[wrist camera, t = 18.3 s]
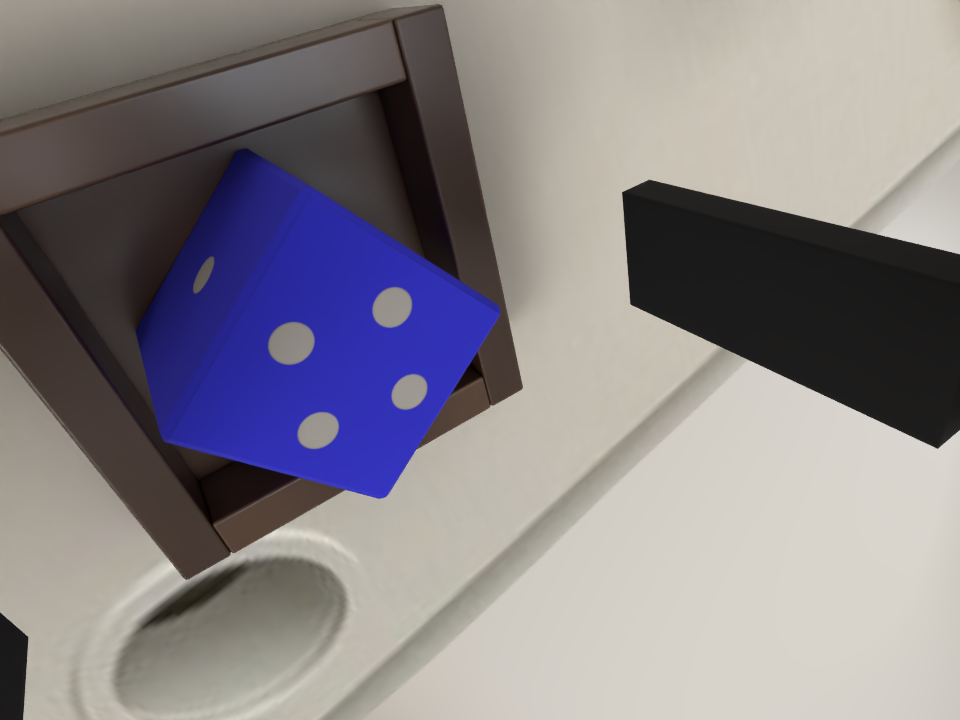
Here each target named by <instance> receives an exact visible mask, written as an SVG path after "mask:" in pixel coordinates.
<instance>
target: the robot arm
mask: <svg viewBox="0 0 960 720" xmlns="http://www.w3.org/2000/svg"><path fill="white" fill-rule="evenodd" d="M622 195H623V209H624V223H625V236H626V250H627V264H628V277H629V291H630V304H631V305H633V306H635V307H637V308H639V309H641V310H643V311H645V312H648V313H650V314H652V315H654V316H656V317H658V318H660V319H663V320H665V321H667V322H669V323H671V324H673V325H675V326H677V327H680V328H682V329H684V330H686V331H688V332H690V333H692V334H694V335H697V336H699V337H701V338H703V339H705V340H707V341H709V342H712V343H714V344H716V345H718V346H720V347H722V348H724V349H726V350H729V351H731V352H733V353H735V354H737V355H739V356H741V357H743V358H746V359H748V360H750V361H752V362H754V363H756V364H758V365H761V366H763V367H765V368H767V369H769V370H771V371H773V372H775V373H778V374H780V375H782V376H784V377H786V378H788V379H790V380H793V381H795V382H797V383H799V384H801V385H803V386H806V387H807V388H810V389H812V390H814V391H816V392H818V393H820V394H823V395H824V396H827V397H829V398H831V399H833V400H835V401H837V402H839V403H842V404H844V405H846V406H848V407H850V408H852V409H854V410H856V411H859V412H861V413H863V414H865V415H867V416H869V417H871V418H874V419H876V420H878V421H880V422H882V423H884V424H886V425H888V426H890V427H893V428H895V429H897V430H899V431H901V432H903V433H906V434H908V435H910V436H912V437H914V438H916V439H918V440H920V441H922V442H925V443H927V444H929V445H931V446H933V447H935V448H937V449H938V448H939V447H940V446H941V445H943V444H944V443H945V442H946V441H947V440H948V439H950V438H951V437H952V436H953V435H954V434H956V433H957V432H958V431H959V430H960V254H956V253H952V252H948V251H944V250H940V249H935V248H931V247H927V246H922V245H919V244H915V243H910V242H906V241H902V240H898V239H893V238H890V237H885V236H881V235H877V234H873V233H869V232H865V231H860V230H856V229H852V228H848V227H844V226H840V225H835V224H831V223H827V222H823V221H819V220H815V219H810V218H806V217H802V216H798V215H794V214H790V213H785V212H781V211H777V210H773V209H769V208H765V207H760V206H756V205H752V204H748V203H744V202H740V201H735V200H731V199H727V198H723V197H719V196H715V195H710V194H706V193H702V192H698V191H694V190H690V189H685V188H681V187H677V186H673V185H669V184H665V183H661V182H656V181H652V180H648V181H646V182H643V183H641V184H639V185H637V186H635V187H633V188H631V189H628V190H626V191H624V192H622ZM27 650H28V636H26V635H25V634H24V633H23V632H22V631H21V630H20V629H18V628H17V627H16V626H15V625H14V624H13V623H12V622H10V621H9V620H8V619H7V618H6V617H5V616H3V615H2V614H1V613H0V720H23V712H24V696H25V681H26V665H27Z"/></svg>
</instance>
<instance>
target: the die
mask: <svg viewBox="0 0 960 720" xmlns="http://www.w3.org/2000/svg"><path fill="white" fill-rule="evenodd" d="M499 316H500V306H499V305H497V304H496V303H494V302H492V301H491V300H489V299H488V298H486V297H485V296H483V295H481V294H480V293H478V292H477V291H475V290H473V289H472V288H470V287H469V286H467V285H466V284H464V283H462V282H461V281H459V280H458V279H456V278H455V277H453V276H451V275H450V274H448V273H447V272H445V271H444V270H442V269H440V268H439V267H437V266H436V265H434V264H432V263H431V262H429V261H428V260H426V259H425V258H423V257H421V256H420V255H418V254H417V253H415V252H414V251H412V250H410V249H409V248H407V247H406V246H404V245H403V244H401V243H399V242H398V241H396V240H395V239H393V238H391V237H390V236H388V235H387V234H385V233H384V232H382V231H380V230H379V229H377V228H376V227H374V226H373V225H371V224H369V223H368V222H366V221H365V220H363V219H362V218H360V217H358V216H357V215H355V214H354V213H352V212H351V211H349V210H347V209H346V208H344V207H343V206H341V205H339V204H338V203H336V202H335V201H333V200H332V199H330V198H328V197H327V196H325V195H324V194H322V193H321V192H319V191H317V190H316V189H314V188H313V187H311V186H309V185H308V184H306V183H304V182H303V181H301V180H299V179H298V178H296V177H294V176H293V175H291V174H289V173H288V172H286V171H284V170H283V169H281V168H279V167H278V166H276V165H274V164H273V163H271V162H269V161H268V160H266V159H264V158H263V157H261V156H259V155H257V154H256V153H254V152H252V151H251V150H249V149H247V148H246V149H241V150H237V152H236V154H235V156H234V157H233V159H232V161H231V163H230V164H229V166H228V168H227V170H226V172H225V173H224V175H223V177H222V179H221V180H220V182H219V184H218V186H217V187H216V189H215V191H214V193H213V195H212V196H211V198H210V200H209V202H208V203H207V205H206V207H205V209H204V210H203V212H202V214H201V216H200V218H199V219H198V221H197V223H196V225H195V226H194V228H193V230H192V232H191V233H190V235H189V237H188V239H187V241H186V242H185V244H184V246H183V248H182V249H181V251H180V253H179V255H178V256H177V258H176V260H175V262H174V264H173V265H172V267H171V269H170V271H169V272H168V274H167V276H166V278H165V279H164V281H163V283H162V285H161V287H160V288H159V290H158V292H157V294H156V295H155V297H154V299H153V301H152V302H151V304H150V306H149V308H148V310H147V311H146V313H145V315H144V317H143V318H142V320H141V322H140V324H139V325H138V327H137V329H136V335H137V339H138V344H139V348H140V352H141V356H142V361H143V365H144V369H145V373H146V377H147V382H148V386H149V390H150V394H151V399H152V403H153V407H154V411H155V415H156V420H157V424H158V428H159V432H160V434H161V436H162V439H163V441H164V442H167V443H171V444H174V445H178V446H182V447H186V448H190V449H193V450H197V451H201V452H205V453H208V454H212V455H216V456H220V457H224V458H227V459H231V460H235V461H239V462H242V463H246V464H250V465H254V466H258V467H261V468H265V469H269V470H273V471H276V472H280V473H284V474H288V475H292V476H295V477H299V478H303V479H307V480H311V481H314V482H318V483H322V484H326V485H329V486H333V487H337V488H341V489H345V490H348V491H352V492H356V493H360V494H363V495H367V496H371V497H375V498H379V499H380V498H384V497H386V496H387V495H388V494H389V492H390V491H391V489H392V488H393V486H394V484H395V483H396V481H397V480H398V478H399V476H400V475H401V473H402V472H403V470H404V468H405V467H406V465H407V463H408V462H409V460H410V459H411V457H412V455H413V454H414V452H415V451H416V449H417V447H418V446H419V444H420V443H421V441H422V439H423V438H424V436H425V435H426V433H427V431H428V430H429V428H430V427H431V425H432V423H433V422H434V420H435V419H436V417H437V415H438V414H439V412H440V411H441V409H442V407H443V406H444V404H445V403H446V401H447V399H448V398H449V396H450V395H451V393H452V391H453V390H454V388H455V387H456V385H457V383H458V382H459V380H460V379H461V377H462V375H463V374H464V372H465V371H466V369H467V367H468V366H469V364H470V363H471V361H472V359H473V358H474V356H475V355H476V353H477V351H478V350H479V348H480V347H481V345H482V343H483V342H484V340H485V339H486V337H487V335H488V334H489V332H490V331H491V329H492V327H493V326H494V324H495V323H496V321H497V319H498V318H499Z"/></svg>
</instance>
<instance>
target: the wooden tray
mask: <svg viewBox="0 0 960 720" xmlns="http://www.w3.org/2000/svg"><path fill="white" fill-rule="evenodd" d="M246 148H247V149H249V150H251V151H252V152H254V153H256V154H257V155H259V156H261V157H263V158H264V159H266V160H268V161H269V162H271V163H273V164H274V165H276V166H278V167H279V168H281V169H283V170H284V171H286V172H288V173H289V174H291V175H293V176H294V177H296V178H298V179H299V180H301V181H303V182H304V183H306V184H308V185H309V186H311V187H313V188H314V189H316V190H317V191H319V192H321V193H322V194H324V195H325V196H327V197H328V198H330V199H332V200H333V201H335V202H336V203H338V204H339V205H341V206H343V207H344V208H346V209H347V210H349V211H351V212H352V213H354V214H355V215H357V216H358V217H360V218H362V219H363V220H365V221H366V222H368V223H369V224H371V225H373V226H374V227H376V228H377V229H379V230H380V231H382V232H384V233H385V234H387V235H388V236H390V237H391V238H393V239H395V240H396V241H398V242H399V243H401V244H403V245H404V246H406V247H407V248H409V249H410V250H412V251H414V252H415V253H417V254H418V255H420V256H421V257H423V258H425V259H426V260H428V261H429V262H431V263H432V264H434V265H436V266H437V267H439V268H440V269H442V270H444V271H445V272H447V273H448V274H450V275H451V276H453V277H455V278H456V279H458V280H459V281H461V282H462V283H464V284H466V285H467V286H469V287H470V288H472V289H473V290H475V291H477V292H478V293H480V294H481V295H483V296H485V297H486V298H488V299H489V300H491V301H492V302H494V303H496V304H497V305H499V306H500V316H499V318H498V319H497V321H496V323H495V324H494V326H493V327H492V329H491V331H490V332H489V334H488V335H487V337H486V339H485V340H484V342H483V343H482V345H481V347H480V348H479V350H478V351H477V353H476V355H475V356H474V358H473V359H472V361H471V363H470V364H469V366H468V367H467V369H466V371H465V372H464V374H463V375H462V377H461V379H460V380H459V382H458V383H457V385H456V387H455V388H454V390H453V391H452V393H451V395H450V396H449V398H448V399H447V401H446V403H445V404H444V406H443V407H442V409H441V411H440V412H439V414H438V415H437V417H436V419H435V420H434V422H433V423H432V425H431V427H430V428H429V430H428V431H427V433H426V435H425V436H424V438H423V439H422V441H421V443H420V444H419V446H418V447H417V449H418V448H420V447H422V446H423V445H425V444H427V443H429V442H430V441H432V440H434V439H436V438H437V437H439V436H441V435H443V434H444V433H446V432H448V431H450V430H451V429H453V428H455V427H457V426H458V425H460V424H462V423H464V422H465V421H467V420H469V419H471V418H473V417H474V416H476V415H478V414H480V413H481V412H483V411H485V410H487V409H488V408H490V405H491V406H493V405H495V404H497V403H499V402H501V401H502V400H504V399H506V398H508V397H509V396H511V395H513V394H515V393H516V392H518V391H520V390H522V388H523V386H522V381H521V376H520V371H519V367H518V362H517V357H516V352H515V348H514V343H513V338H512V333H511V329H510V324H509V319H508V314H507V310H506V305H505V300H504V295H503V290H502V286H501V281H500V276H499V271H498V267H497V262H496V257H495V252H494V248H493V243H492V238H491V233H490V228H489V224H488V219H487V214H486V209H485V205H484V200H483V195H482V190H481V186H480V181H479V176H478V171H477V166H476V162H475V157H474V152H473V147H472V143H471V138H470V133H469V128H468V124H467V119H466V114H465V109H464V104H463V100H462V95H461V90H460V85H459V81H458V76H457V71H456V66H455V62H454V57H453V52H452V47H451V42H450V38H449V33H448V28H447V23H446V19H445V14H444V9H443V7H442V5H440V4H435V5H424V6H414V7H404V8H392V9H388V10H385V11H381V12H378V13H374V14H371V15H367V16H364V17H360V18H357V19H353V20H350V21H346V22H343V23H339V24H336V25H332V26H329V27H325V28H322V29H318V30H314V31H311V32H307V33H304V34H300V35H297V36H293V37H290V38H286V39H283V40H279V41H276V42H272V43H269V44H265V45H262V46H258V47H255V48H251V49H248V50H244V51H241V52H237V53H234V54H230V55H227V56H223V57H220V58H216V59H213V60H209V61H206V62H202V63H199V64H195V65H191V66H188V67H184V68H181V69H177V70H174V71H170V72H167V73H163V74H160V75H156V76H153V77H149V78H146V79H142V80H139V81H135V82H132V83H128V84H125V85H121V86H118V87H114V88H111V89H107V90H104V91H100V92H97V93H93V94H90V95H86V96H83V97H79V98H75V99H72V100H68V101H65V102H61V103H58V104H54V105H51V106H47V107H44V108H40V109H37V110H33V111H30V112H26V113H23V114H19V115H16V116H12V117H9V118H5V119H2V120H0V349H1V351H2V352H3V353H4V354H5V356H6V357H7V358H8V359H9V361H10V362H11V363H12V364H13V366H14V367H15V368H16V369H17V371H18V372H19V373H20V374H21V376H22V377H23V378H24V379H25V381H26V382H27V383H28V384H29V386H30V387H31V388H32V389H33V391H34V392H35V393H36V394H37V396H38V397H39V398H40V399H41V401H42V402H43V403H44V404H45V406H46V407H47V408H48V409H49V411H50V412H51V413H52V414H53V416H54V417H55V418H56V419H57V421H58V422H59V423H60V424H61V426H62V427H63V428H64V429H65V431H66V432H67V433H68V434H69V436H70V437H71V438H72V439H73V440H74V442H75V443H76V444H77V445H78V447H79V448H80V449H81V450H82V452H83V453H84V454H85V455H86V457H87V458H88V459H89V460H90V462H91V463H92V464H93V465H94V467H95V468H96V469H97V470H98V472H99V473H100V474H101V475H102V477H103V478H104V479H105V480H106V482H107V483H108V484H109V485H110V487H111V488H112V489H113V490H114V492H115V493H116V494H117V495H118V497H119V498H120V499H121V500H122V502H123V503H124V504H125V505H126V507H127V508H128V509H129V510H130V512H131V513H132V514H133V515H134V517H135V518H136V519H137V520H138V522H139V523H140V524H141V525H142V527H143V528H144V529H145V530H146V532H147V533H148V534H149V535H150V537H151V538H152V539H153V540H154V542H155V543H156V544H157V545H158V547H159V548H160V549H161V550H162V552H163V553H164V554H165V555H166V557H167V558H168V559H169V560H170V562H171V563H172V564H173V565H174V567H175V568H176V569H177V570H178V572H179V573H180V574H181V575H182V577H183V578H184V579H186V580H187V579H190V578H192V577H193V576H195V575H197V574H199V573H200V572H202V571H204V570H206V569H207V568H209V567H211V566H213V565H214V564H216V563H218V562H220V561H221V560H223V559H225V558H227V557H228V556H229V555H230V551H231V552H232V553H235V552H237V551H239V550H241V549H242V548H244V547H246V546H248V545H249V544H251V543H253V542H255V541H257V540H258V539H260V538H262V537H264V536H265V535H267V534H269V533H271V532H272V531H274V530H276V529H278V528H279V527H281V526H283V525H285V524H286V523H288V522H290V521H292V520H293V519H295V518H297V517H299V516H300V515H302V514H304V513H306V512H307V511H309V510H311V509H313V508H314V507H316V506H318V505H320V504H321V503H323V502H325V501H327V500H329V499H330V498H332V497H334V496H336V495H337V494H339V493H341V492H343V491H344V490H345V489H341V488H337V487H333V486H329V485H326V484H322V483H318V482H314V481H311V480H307V479H303V478H299V477H295V476H292V475H288V474H284V473H280V472H276V471H273V470H269V469H265V468H261V467H258V466H254V465H250V464H246V463H242V462H239V461H235V460H231V459H227V458H224V457H220V456H216V455H212V454H208V453H205V452H201V451H197V450H193V449H190V448H186V447H182V446H178V445H174V444H171V443H167V442H164V441H163V439H162V436H161V434H160V432H159V428H158V424H157V420H156V415H155V411H154V407H153V403H152V399H151V394H150V390H149V386H148V382H147V377H146V373H145V369H144V365H143V361H142V356H141V352H140V348H139V344H138V339H137V335H136V329H137V327H138V325H139V324H140V322H141V320H142V318H143V317H144V315H145V313H146V311H147V310H148V308H149V306H150V304H151V302H152V301H153V299H154V297H155V295H156V294H157V292H158V290H159V288H160V287H161V285H162V283H163V281H164V279H165V278H166V276H167V274H168V272H169V271H170V269H171V267H172V265H173V264H174V262H175V260H176V258H177V256H178V255H179V253H180V251H181V249H182V248H183V246H184V244H185V242H186V241H187V239H188V237H189V235H190V233H191V232H192V230H193V228H194V226H195V225H196V223H197V221H198V219H199V218H200V216H201V214H202V212H203V210H204V209H205V207H206V205H207V203H208V202H209V200H210V198H211V196H212V195H213V193H214V191H215V189H216V187H217V186H218V184H219V182H220V180H221V179H222V177H223V175H224V173H225V172H226V170H227V168H228V166H229V164H230V163H231V161H232V159H233V157H234V156H235V154H236V152H237V150H241V149H246Z"/></svg>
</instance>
